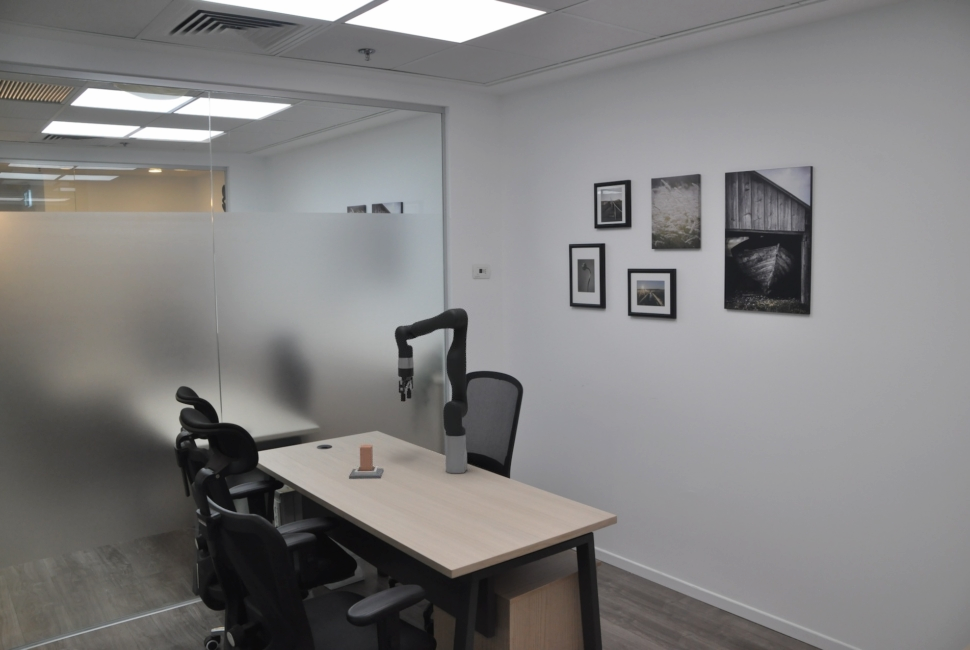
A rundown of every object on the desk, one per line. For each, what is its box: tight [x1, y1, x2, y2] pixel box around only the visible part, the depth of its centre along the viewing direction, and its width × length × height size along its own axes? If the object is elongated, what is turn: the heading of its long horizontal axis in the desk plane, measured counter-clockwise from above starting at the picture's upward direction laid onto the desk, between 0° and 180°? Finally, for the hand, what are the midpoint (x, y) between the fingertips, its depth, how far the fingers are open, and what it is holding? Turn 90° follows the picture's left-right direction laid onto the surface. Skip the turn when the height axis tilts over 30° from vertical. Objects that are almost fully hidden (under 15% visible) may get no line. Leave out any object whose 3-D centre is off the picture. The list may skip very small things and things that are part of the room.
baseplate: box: [348, 465, 384, 480], centre depth 330 cm, size 14×12×3 cm
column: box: [359, 444, 374, 471], centre depth 330 cm, size 5×5×12 cm
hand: (406, 399), depth 352 cm, fingers open, 8 cm apart
